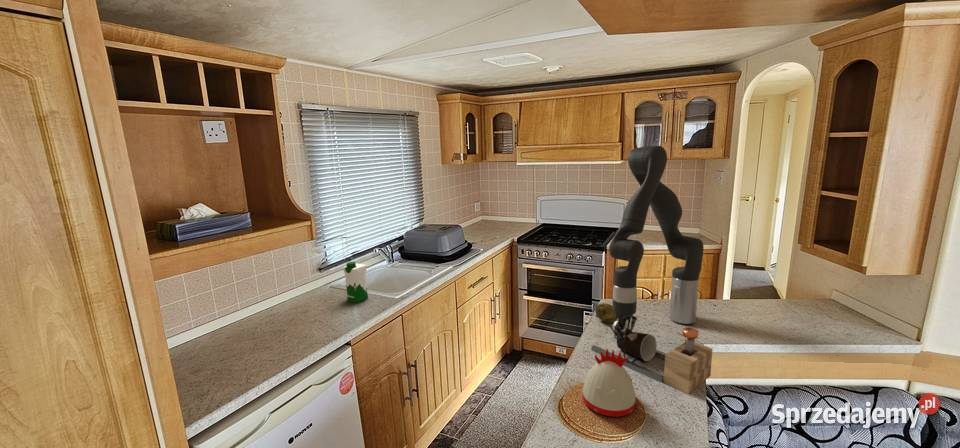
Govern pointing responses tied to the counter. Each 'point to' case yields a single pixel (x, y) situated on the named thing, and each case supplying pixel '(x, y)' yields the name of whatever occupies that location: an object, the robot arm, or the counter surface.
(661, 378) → the guide rails
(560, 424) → the counter surface
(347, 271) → the milk carton
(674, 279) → the robot arm
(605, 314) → the potato
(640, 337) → the coffee mug
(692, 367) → the hollow wooden block stack
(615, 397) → the kitchen timer
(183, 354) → the counter surface
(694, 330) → the button
